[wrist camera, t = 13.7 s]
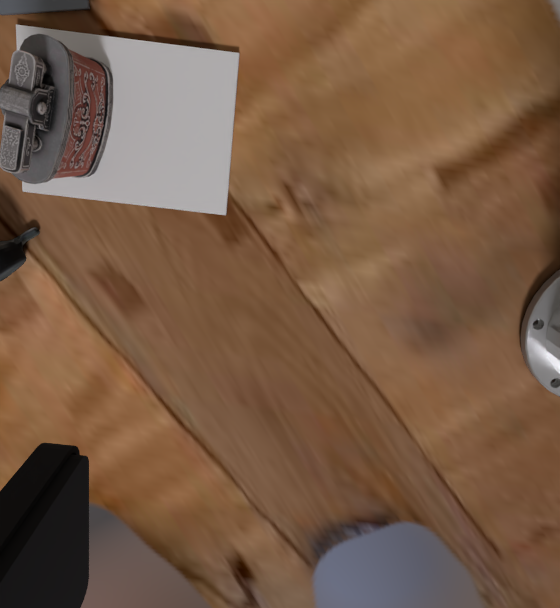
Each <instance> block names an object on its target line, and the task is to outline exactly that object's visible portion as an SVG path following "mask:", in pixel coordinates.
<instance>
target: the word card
mask: <svg viewBox="0 0 560 608" xmlns="http://www.w3.org/2000/svg"><path fill="white" fill-rule="evenodd" d="M88 9H90V4H89V0H0V15H15V14H30V13H44V12H59V11H74V10H88Z"/></svg>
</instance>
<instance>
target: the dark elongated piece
mask: <svg viewBox="0 0 560 608" xmlns="http://www.w3.org/2000/svg"><path fill="white" fill-rule="evenodd" d="M39 233H40V231H39V229H38V228H37V227H33V228H31V229H29V230H27V231H26V232H24V233H23V234H21V235H20V236H18V237H16V238H14V239H12V240H9V241H0V281H2V280H4V279H5V278H7V277H8V276H9V275H11V274H12V273H13V272H14V271H16V270H17V269H18V268H19V267H21V266H22V265H23V264H24V262H25V261H26V256H25V254H24V252H23V245H24V244H25V243H26V242H27V241H28V240H30V239H32V238H34V237H35V236H37V235H39Z"/></svg>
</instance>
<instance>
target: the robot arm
mask: <svg viewBox="0 0 560 608" xmlns="http://www.w3.org/2000/svg"><path fill="white" fill-rule="evenodd" d="M534 321H535V322H534ZM520 338H521V351H522V354H523V357H524V360H525V363H526V365H527V367H528V368H529V370H530V372H531V374H532V375H533V376H534V377H535V378H536V379H537V380H538V381H539V382H540V383H541V384H542V385H543V386H544V387H545V388H546V389H548V390H549V391H550V392H552V393H554V394H556V395H558V396H559V397H560V270H558V271H557V272H556V273H555V274H553V275H552V276H551V277H550V278H549V279H548V280H547V281H546V282H545V283H544V284H543V285H542V286H541V288H540V289H539V290H538V291H537V293H536V294H535V295H534V297H533V299H532V301H531V302H530V304H529V306H528V308H527V310H526V313H525V316H524V319H523V322H522V329H521V337H520ZM88 579H89V460H88V457H87V456H82V455H79V449H78V447H76V446H71V445H61V444H52V443H42V444H40V445H39V446H38V447H37V448H36V449H35V450H34V452H33V453H32V454H31V455H30V456H29V458H28V459H27V460H26V461H25V462H24V464H23V465H22V466H21V467H20V468H19V470H18V471H17V472H16V473H15V474H14V476H13V477H12V478H11V479H10V480H9V482H8V483H7V484H6V485H5V486H4V488H3V489H2V490H1V491H0V608H80V607H81V605H82V602H83V600H84V597H85V594H86V590H87V586H88Z"/></svg>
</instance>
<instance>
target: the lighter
mask: <svg viewBox="0 0 560 608" xmlns="http://www.w3.org/2000/svg"><path fill="white" fill-rule="evenodd" d="M0 108H1V110H2V113H3V115H5V116H4V124H3V133H2V141H1V149H0V167H1V168H2V169H3V170H4V171H6V172H10V173H12V174H13V175H14V176H15V177H16V178H18V179H19V180H21V181H23V182H25V183H30V184H39V183H45V182H48V181H50V180H51V179H54V178H63V177H74V178H84V177H90V176H91V175H93V174H94V173H95V172H96V170H97V168H98V166H99V163H100V161H101V158H102V156H103V153H104V151H105V147H106V144H107V140H108V136H109V132H110V128H111V120H112V111H113V76H112V73H111V71H110V69H109V68H108V67H107V66H106V65H105V64H104V63H102V62H100V61H98V60H96V59H94V58H92V57H84V56H82V55H80V54H78V53H76V52H74V51H72V50H70V49H68V48H67V47H66V46H65V45H64V44H63V43H62V42H60V41H58V40H56V39H54V38H52V37H50V36H48V35H44V34H35V35H31V36H29V37H28V38H26V39H25V40H24V41H23V43H22V45H21V47H20V50H17V51H15V52H14V53H13V55H12V59H11V67H10V76H9V79H8V80H7V81H6V82H5V84H4V85H2V87H1V89H0Z"/></svg>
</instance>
